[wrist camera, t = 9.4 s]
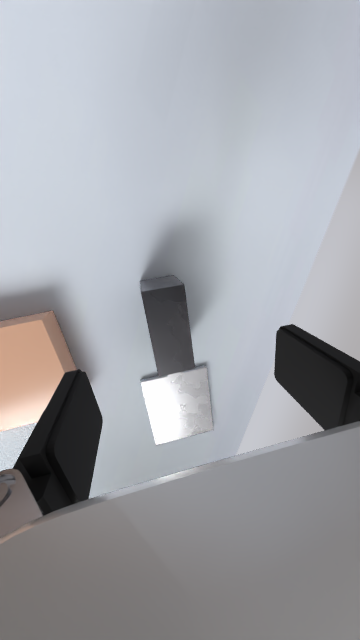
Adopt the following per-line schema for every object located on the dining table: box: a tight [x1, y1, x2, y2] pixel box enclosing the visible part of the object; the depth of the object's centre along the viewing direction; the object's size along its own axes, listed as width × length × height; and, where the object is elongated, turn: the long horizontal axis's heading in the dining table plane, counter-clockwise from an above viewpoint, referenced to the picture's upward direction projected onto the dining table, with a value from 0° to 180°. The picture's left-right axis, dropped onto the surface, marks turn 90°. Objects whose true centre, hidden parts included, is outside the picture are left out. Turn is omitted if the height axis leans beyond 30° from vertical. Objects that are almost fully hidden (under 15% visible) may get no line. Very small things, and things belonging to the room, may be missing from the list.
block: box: [0, 311, 77, 432], centre depth 18 cm, size 3×10×9 cm
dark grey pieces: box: [140, 275, 213, 445], centre depth 20 cm, size 19×7×4 cm, turn 8°
